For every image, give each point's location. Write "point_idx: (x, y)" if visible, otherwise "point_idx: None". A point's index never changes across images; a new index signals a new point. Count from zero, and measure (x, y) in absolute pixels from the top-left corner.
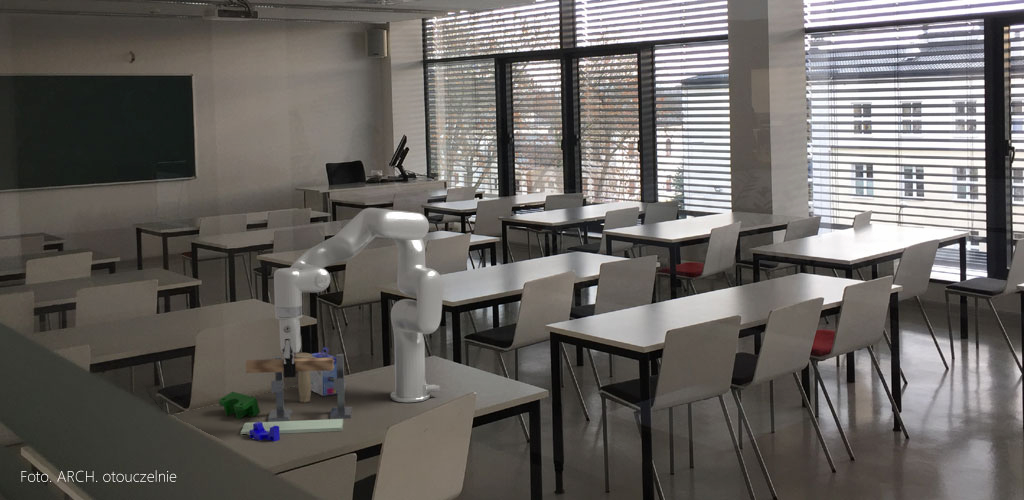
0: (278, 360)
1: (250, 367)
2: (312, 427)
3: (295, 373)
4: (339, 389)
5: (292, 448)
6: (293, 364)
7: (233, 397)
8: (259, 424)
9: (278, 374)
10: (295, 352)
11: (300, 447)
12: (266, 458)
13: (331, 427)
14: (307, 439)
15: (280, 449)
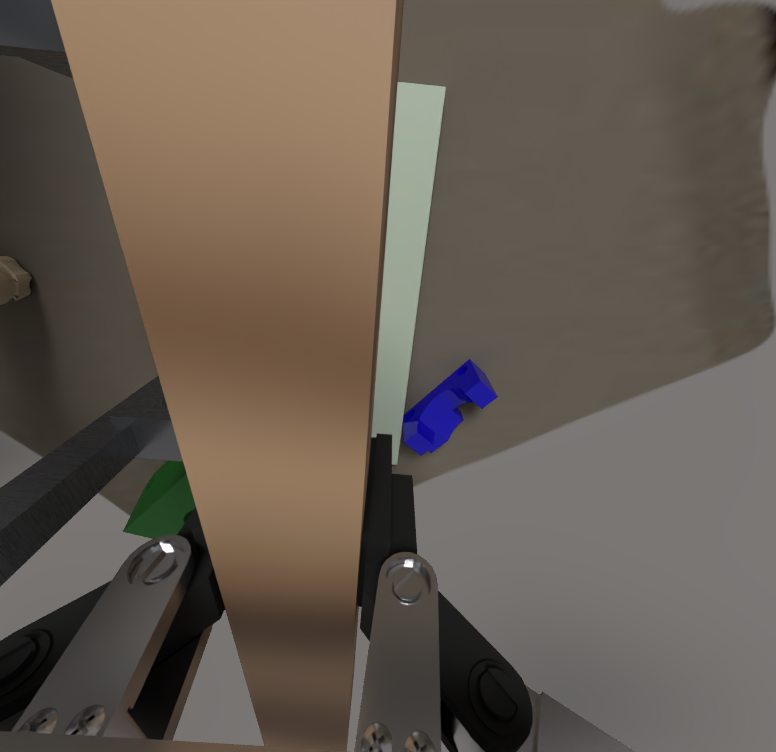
0: (299, 667)
1: (350, 707)
2: (408, 244)
3: (389, 451)
4: None
5: (580, 317)
6: (389, 545)
7: (171, 522)
8: (426, 437)
9: (92, 477)
10: (133, 668)
11: (583, 289)
12: (632, 390)
13: (429, 149)
14: (504, 264)
15: (570, 354)
